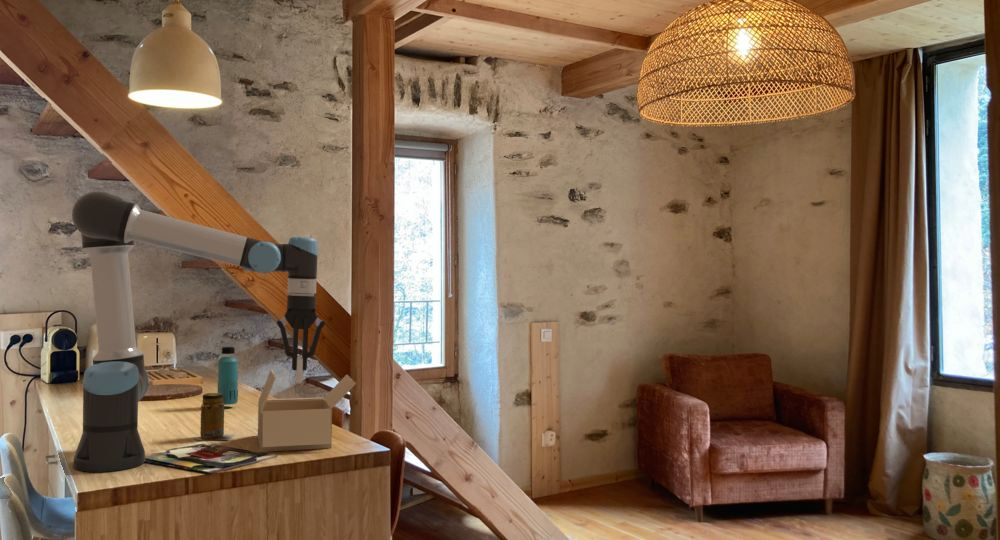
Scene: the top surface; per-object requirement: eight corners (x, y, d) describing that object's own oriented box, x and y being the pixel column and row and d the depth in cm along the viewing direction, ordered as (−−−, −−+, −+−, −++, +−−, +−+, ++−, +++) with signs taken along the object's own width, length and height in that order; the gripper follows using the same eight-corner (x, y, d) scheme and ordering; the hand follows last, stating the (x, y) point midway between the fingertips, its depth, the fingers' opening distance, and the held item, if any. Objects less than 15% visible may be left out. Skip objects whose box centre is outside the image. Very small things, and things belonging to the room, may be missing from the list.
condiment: (202, 435, 217) (203, 392, 217) (234, 435, 218) (235, 392, 218) (195, 441, 210) (196, 396, 209) (227, 441, 210) (228, 396, 210)
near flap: (262, 411, 199) (262, 447, 196) (262, 411, 199) (262, 447, 196) (330, 408, 205) (331, 443, 202) (330, 408, 204) (331, 443, 202)
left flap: (260, 410, 200) (273, 377, 201) (258, 400, 214) (270, 369, 215) (262, 411, 200) (275, 377, 201) (260, 400, 214) (272, 369, 215)
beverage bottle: (229, 410, 253) (230, 348, 253) (212, 408, 255) (213, 347, 255) (242, 406, 259) (243, 346, 259) (225, 405, 261) (226, 345, 261)
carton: (259, 451, 199) (260, 412, 199) (257, 438, 214) (258, 401, 214) (331, 448, 205) (332, 410, 205) (324, 434, 220) (325, 399, 220)
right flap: (330, 407, 205) (354, 382, 207) (323, 397, 220) (346, 374, 222) (331, 408, 206) (356, 383, 208) (325, 398, 220) (348, 375, 222)
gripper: (277, 294, 204) (274, 384, 204) (328, 295, 208) (325, 384, 209) (275, 293, 211) (272, 380, 211) (324, 294, 216) (321, 379, 216)
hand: (298, 382), depth 210 cm, fingers closed
